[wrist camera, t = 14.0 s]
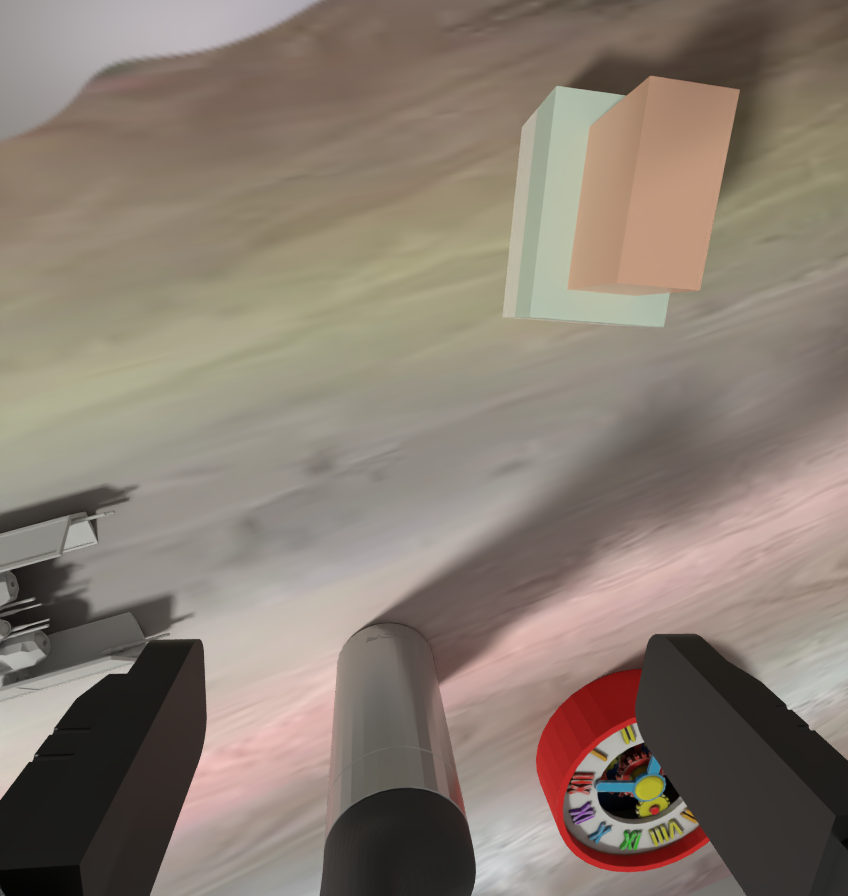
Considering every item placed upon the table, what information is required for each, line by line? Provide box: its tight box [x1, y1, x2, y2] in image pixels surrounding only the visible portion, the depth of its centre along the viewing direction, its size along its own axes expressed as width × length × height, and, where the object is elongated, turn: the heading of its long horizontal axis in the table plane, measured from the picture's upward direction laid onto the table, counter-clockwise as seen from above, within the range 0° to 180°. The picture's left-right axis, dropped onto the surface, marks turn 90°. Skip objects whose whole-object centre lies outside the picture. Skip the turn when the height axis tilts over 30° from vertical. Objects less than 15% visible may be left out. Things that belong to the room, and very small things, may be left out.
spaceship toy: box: [0, 511, 170, 702], centre depth 40 cm, size 14×20×6 cm
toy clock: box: [536, 669, 710, 872], centre depth 52 cm, size 20×6×20 cm
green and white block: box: [502, 86, 670, 327], centre depth 37 cm, size 14×10×7 cm
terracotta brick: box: [567, 76, 740, 296], centre depth 30 cm, size 5×10×7 cm, turn 176°
